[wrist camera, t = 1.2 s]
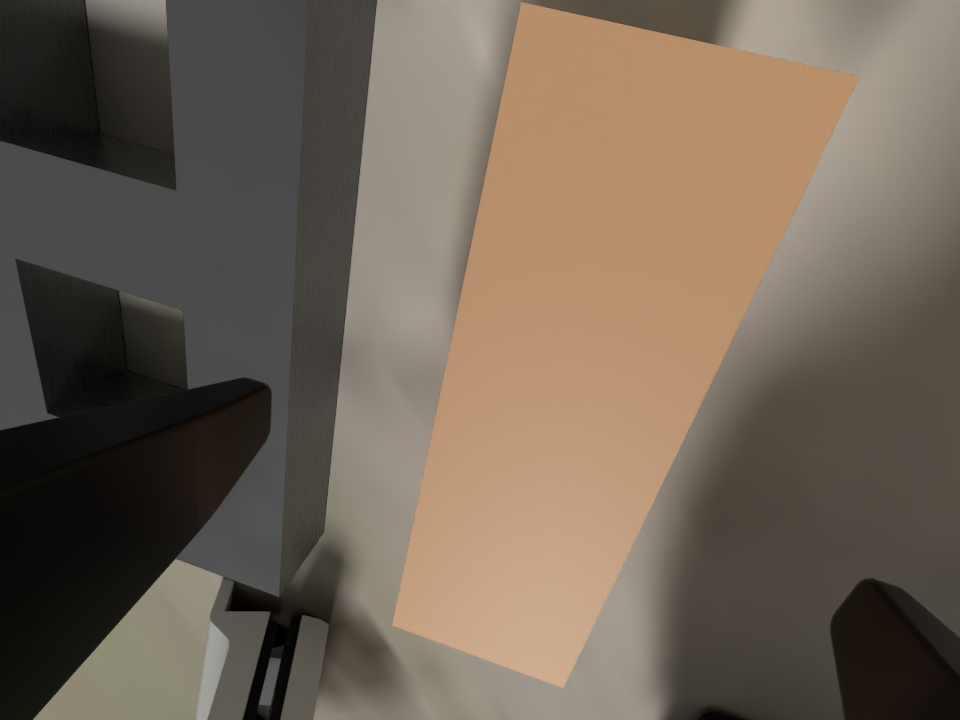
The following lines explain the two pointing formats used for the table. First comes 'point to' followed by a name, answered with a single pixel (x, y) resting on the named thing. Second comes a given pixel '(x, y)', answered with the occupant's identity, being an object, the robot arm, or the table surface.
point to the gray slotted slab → (191, 238)
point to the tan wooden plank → (596, 316)
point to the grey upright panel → (258, 665)
